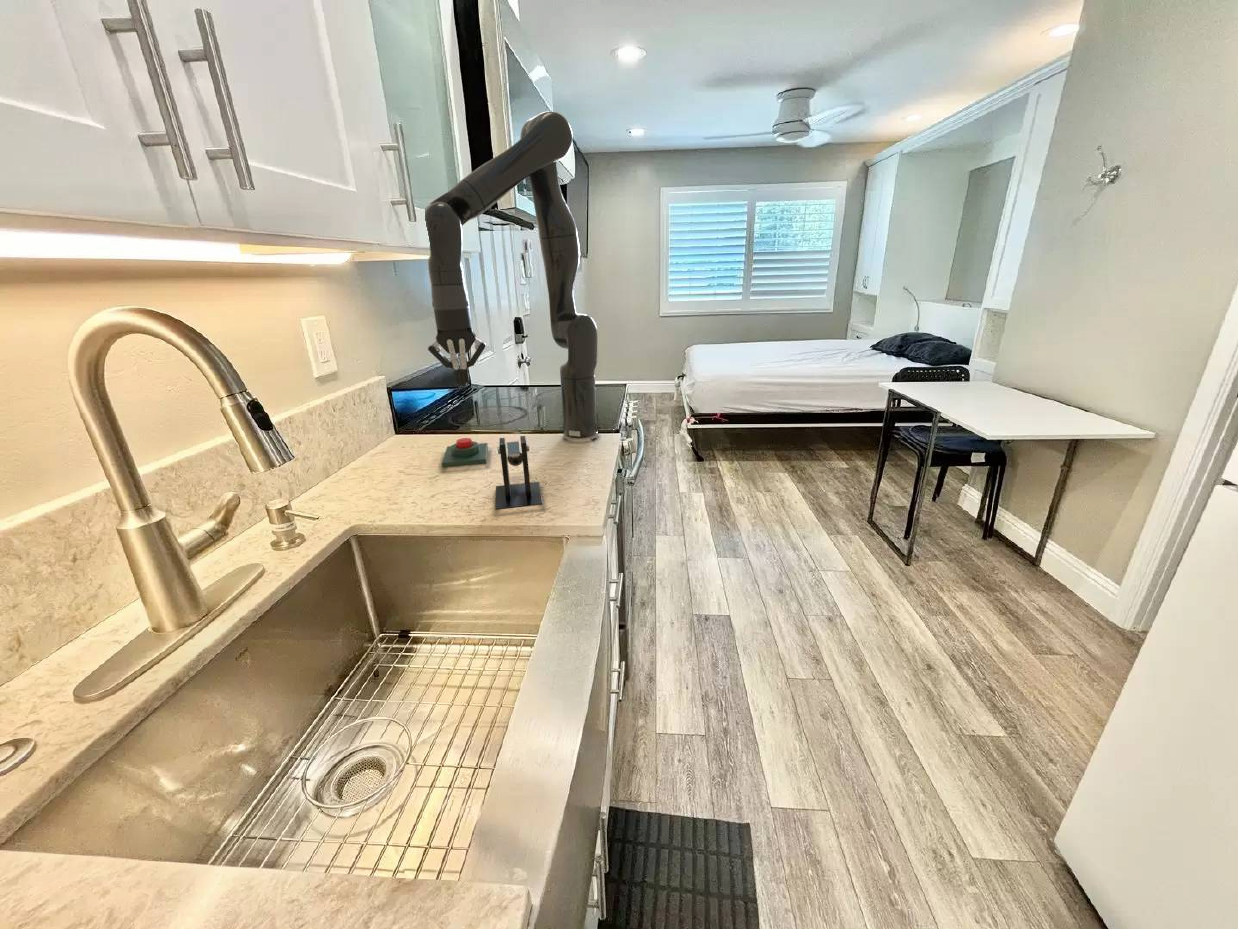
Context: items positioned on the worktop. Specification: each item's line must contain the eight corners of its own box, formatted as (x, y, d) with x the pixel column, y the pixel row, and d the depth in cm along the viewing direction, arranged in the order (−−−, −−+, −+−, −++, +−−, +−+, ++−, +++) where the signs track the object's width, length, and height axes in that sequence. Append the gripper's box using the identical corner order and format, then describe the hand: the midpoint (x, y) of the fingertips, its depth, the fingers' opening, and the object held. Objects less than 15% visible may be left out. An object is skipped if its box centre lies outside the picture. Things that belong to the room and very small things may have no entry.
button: (457, 445, 121) (456, 438, 121) (473, 443, 122) (472, 437, 121) (456, 450, 118) (455, 443, 117) (472, 448, 119) (471, 441, 118)
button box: (448, 454, 126) (446, 439, 124) (488, 450, 128) (486, 436, 126) (443, 471, 115) (440, 455, 113) (486, 467, 117) (484, 451, 115)
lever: (508, 467, 108) (507, 452, 108) (524, 466, 108) (522, 451, 109) (505, 457, 94) (503, 439, 94) (523, 455, 95) (521, 438, 95)
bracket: (496, 491, 104) (489, 433, 99) (539, 486, 106) (534, 429, 101) (496, 514, 94) (487, 451, 89) (543, 509, 96) (537, 447, 91)
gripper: (483, 304, 111) (493, 379, 118) (422, 306, 109) (435, 383, 115) (481, 306, 104) (492, 386, 111) (416, 309, 102) (431, 391, 109)
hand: (463, 385), depth 113 cm, fingers closed
